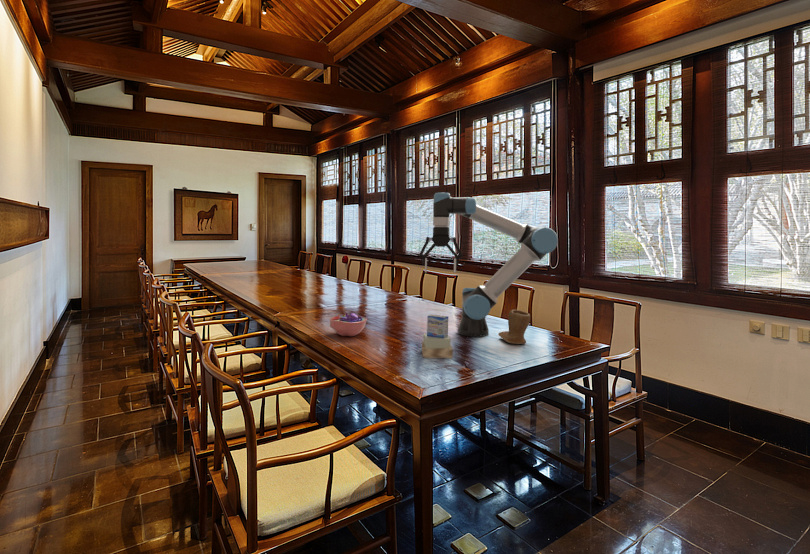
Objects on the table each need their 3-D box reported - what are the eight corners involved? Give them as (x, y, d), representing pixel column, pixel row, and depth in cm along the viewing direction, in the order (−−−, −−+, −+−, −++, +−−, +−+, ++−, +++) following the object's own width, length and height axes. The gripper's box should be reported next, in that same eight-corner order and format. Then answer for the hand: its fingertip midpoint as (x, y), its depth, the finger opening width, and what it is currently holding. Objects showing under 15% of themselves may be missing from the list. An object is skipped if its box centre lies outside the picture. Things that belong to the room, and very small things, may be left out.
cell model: (351, 329, 233) (351, 307, 232) (374, 336, 218) (374, 313, 217) (322, 333, 222) (322, 311, 221) (344, 341, 207) (344, 317, 206)
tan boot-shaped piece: (533, 345, 203) (534, 313, 202) (507, 346, 202) (508, 313, 201) (521, 337, 218) (522, 307, 217) (497, 338, 217) (498, 307, 216)
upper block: (446, 342, 194) (446, 333, 193) (450, 348, 184) (450, 338, 184) (423, 342, 193) (423, 333, 193) (426, 348, 183) (426, 338, 183)
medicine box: (426, 336, 187) (426, 315, 187) (430, 334, 191) (431, 314, 190) (444, 338, 184) (444, 317, 183) (448, 336, 188) (448, 315, 187)
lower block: (449, 351, 195) (449, 342, 194) (452, 359, 183) (452, 349, 182) (421, 350, 195) (421, 341, 194) (423, 358, 183) (423, 349, 182)
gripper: (467, 226, 212) (465, 271, 214) (414, 226, 212) (413, 271, 215) (469, 226, 205) (468, 273, 207) (414, 226, 205) (413, 272, 207)
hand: (440, 272), depth 211 cm, fingers open, 13 cm apart
